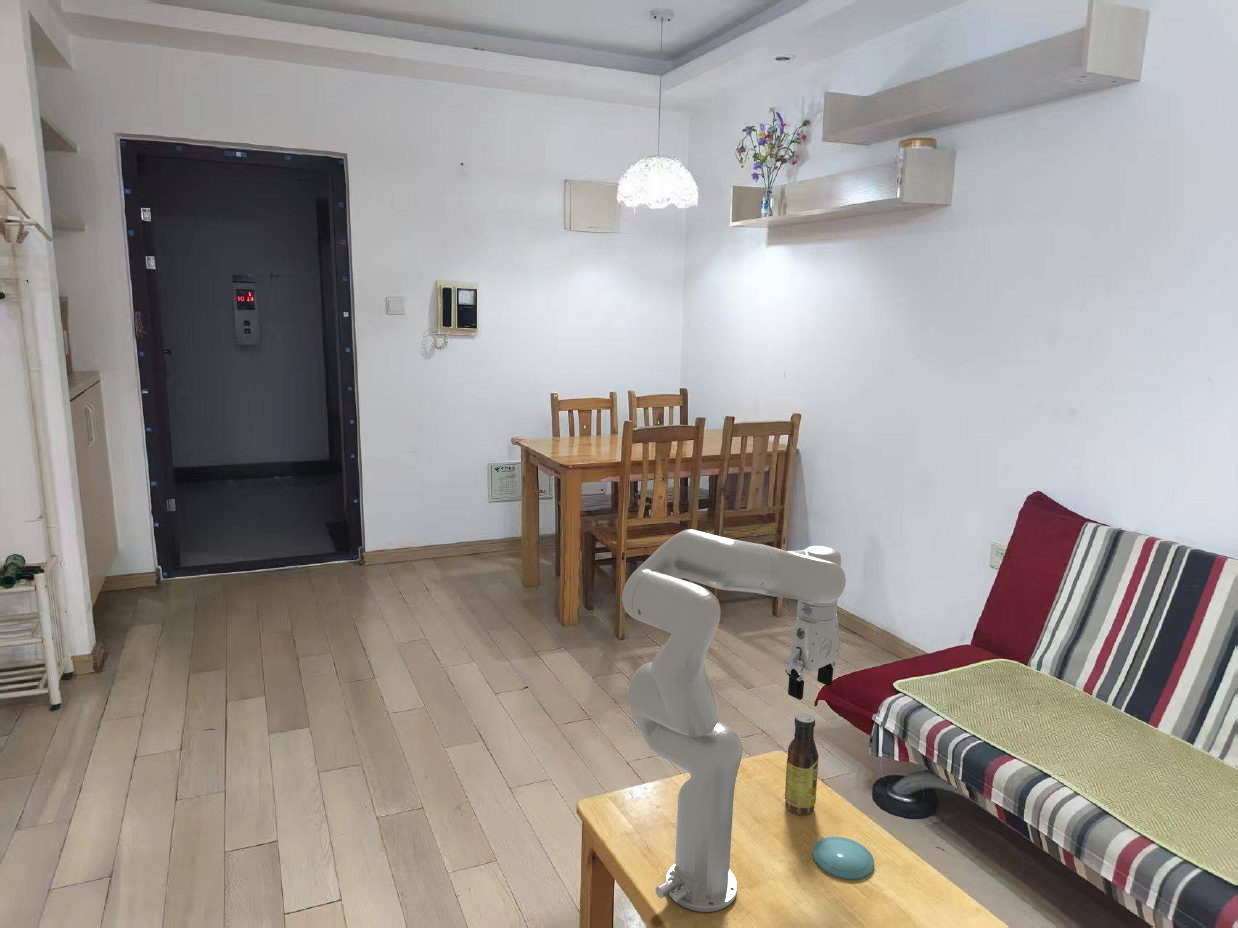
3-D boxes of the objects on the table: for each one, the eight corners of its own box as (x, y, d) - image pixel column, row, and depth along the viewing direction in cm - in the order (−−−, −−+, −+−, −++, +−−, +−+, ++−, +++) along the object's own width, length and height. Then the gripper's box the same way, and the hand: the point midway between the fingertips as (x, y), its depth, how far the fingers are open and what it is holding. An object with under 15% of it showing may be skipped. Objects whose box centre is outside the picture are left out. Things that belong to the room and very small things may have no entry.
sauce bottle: (817, 817, 163) (825, 727, 159) (787, 816, 163) (793, 726, 160) (811, 798, 170) (818, 711, 166) (781, 797, 170) (787, 710, 166)
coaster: (852, 888, 143) (852, 884, 143) (800, 856, 151) (801, 852, 151) (885, 862, 151) (885, 857, 150) (834, 832, 159) (834, 828, 158)
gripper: (806, 624, 150) (799, 710, 153) (858, 605, 161) (850, 685, 165) (774, 612, 156) (767, 695, 159) (826, 595, 167) (819, 672, 170)
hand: (810, 690), depth 162 cm, fingers open, 9 cm apart
